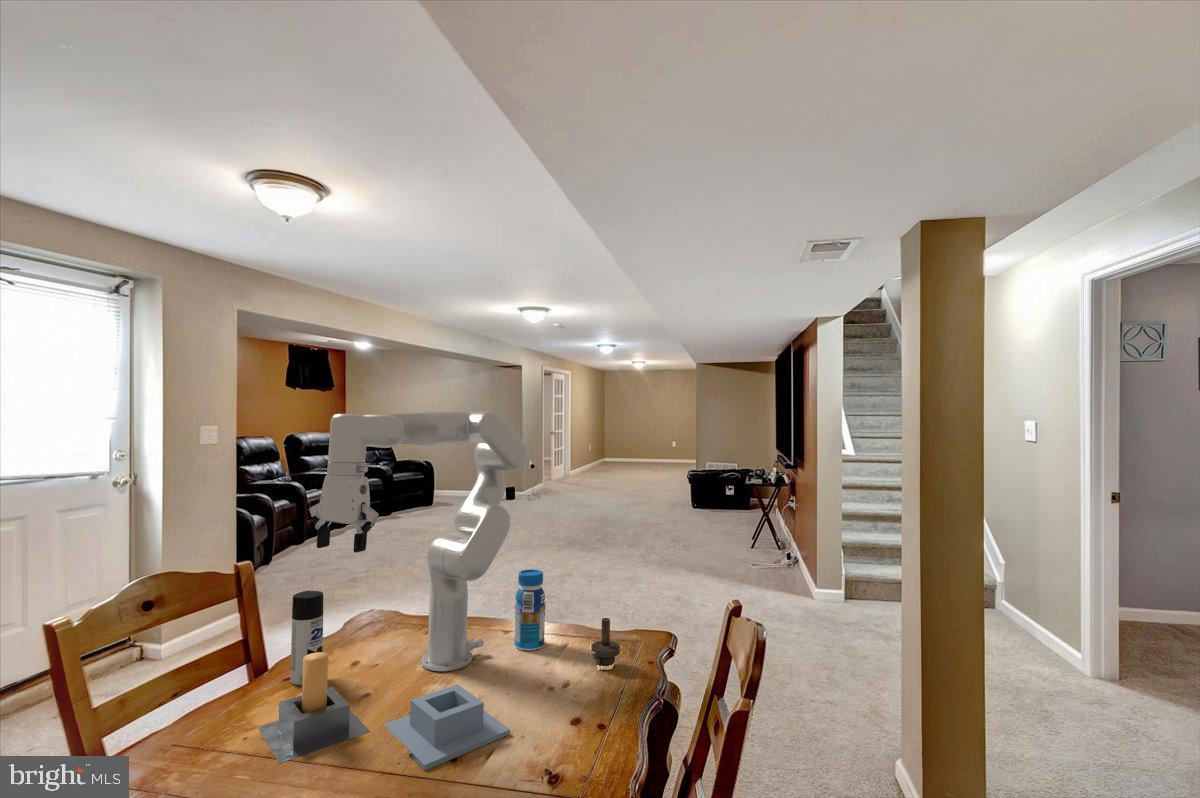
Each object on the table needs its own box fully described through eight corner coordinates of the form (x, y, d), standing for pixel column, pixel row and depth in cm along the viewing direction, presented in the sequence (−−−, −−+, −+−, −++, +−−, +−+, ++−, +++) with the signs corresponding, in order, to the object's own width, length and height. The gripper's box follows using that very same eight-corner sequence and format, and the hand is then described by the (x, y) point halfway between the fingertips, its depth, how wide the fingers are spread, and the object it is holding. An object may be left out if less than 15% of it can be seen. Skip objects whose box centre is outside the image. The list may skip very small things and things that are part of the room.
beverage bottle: (507, 645, 160) (509, 571, 161) (531, 637, 166) (532, 566, 167) (527, 654, 154) (529, 578, 155) (551, 645, 160) (552, 572, 161)
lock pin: (321, 720, 118) (324, 650, 118) (329, 729, 114) (331, 657, 115) (298, 728, 115) (300, 656, 115) (304, 737, 111) (307, 663, 112)
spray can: (308, 687, 134) (311, 599, 134) (283, 684, 135) (285, 597, 136) (328, 675, 140) (330, 590, 141) (303, 672, 142) (305, 588, 142)
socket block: (464, 700, 129) (464, 673, 129) (510, 734, 116) (510, 703, 116) (383, 729, 117) (384, 698, 117) (424, 770, 103) (425, 736, 104)
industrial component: (615, 659, 152) (616, 613, 152) (624, 671, 145) (625, 622, 146) (580, 663, 149) (581, 616, 150) (588, 675, 142) (589, 626, 143)
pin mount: (341, 705, 126) (342, 677, 126) (370, 736, 114) (371, 705, 114) (257, 732, 115) (258, 701, 115) (279, 769, 103) (280, 734, 103)
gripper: (390, 471, 129) (385, 550, 128) (326, 467, 135) (321, 542, 134) (367, 473, 122) (362, 556, 121) (301, 468, 127) (295, 548, 126)
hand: (341, 549), depth 127 cm, fingers open, 9 cm apart
